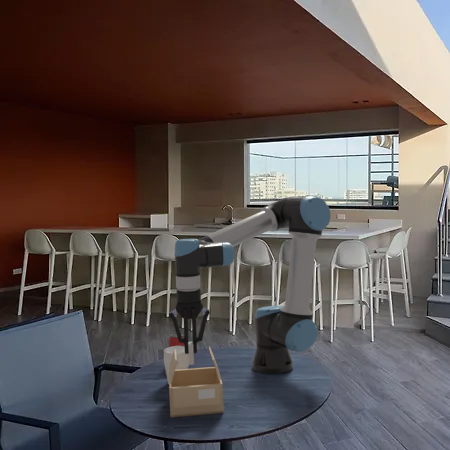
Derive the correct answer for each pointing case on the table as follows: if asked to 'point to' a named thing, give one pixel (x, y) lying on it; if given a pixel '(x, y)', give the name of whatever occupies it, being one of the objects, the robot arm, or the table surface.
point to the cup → (181, 358)
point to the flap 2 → (215, 362)
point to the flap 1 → (172, 366)
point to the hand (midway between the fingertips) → (191, 363)
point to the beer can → (175, 340)
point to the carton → (196, 392)
